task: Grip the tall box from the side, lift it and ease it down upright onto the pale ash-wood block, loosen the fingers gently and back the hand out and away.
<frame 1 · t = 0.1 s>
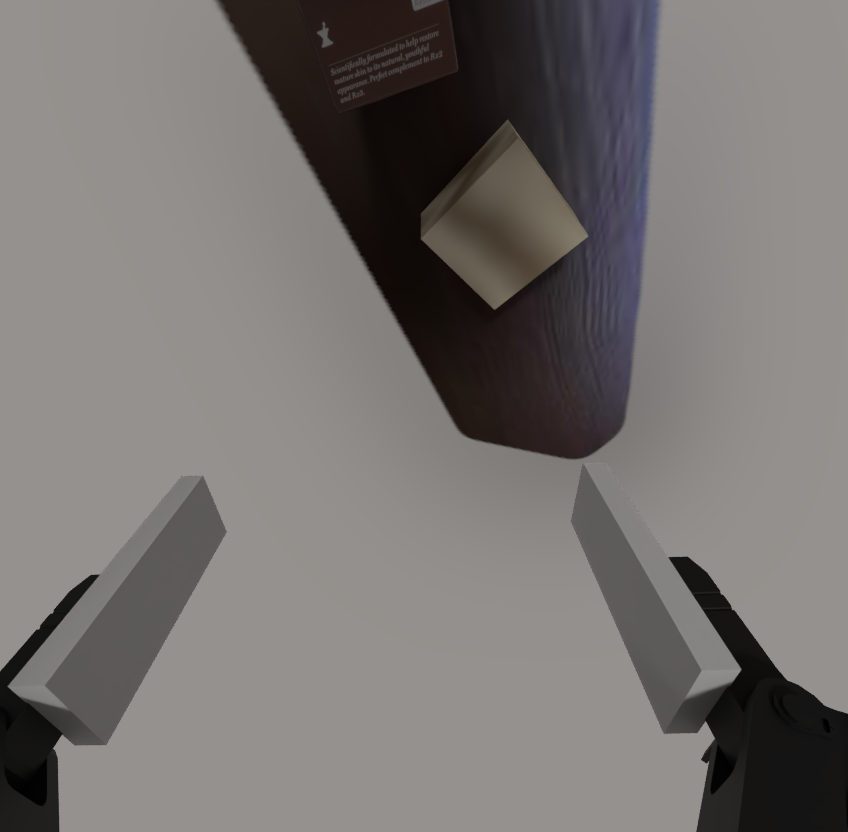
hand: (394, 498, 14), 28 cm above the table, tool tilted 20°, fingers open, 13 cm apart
box: (392, 9, 24), on the table
ash block: (496, 211, 33), on the table
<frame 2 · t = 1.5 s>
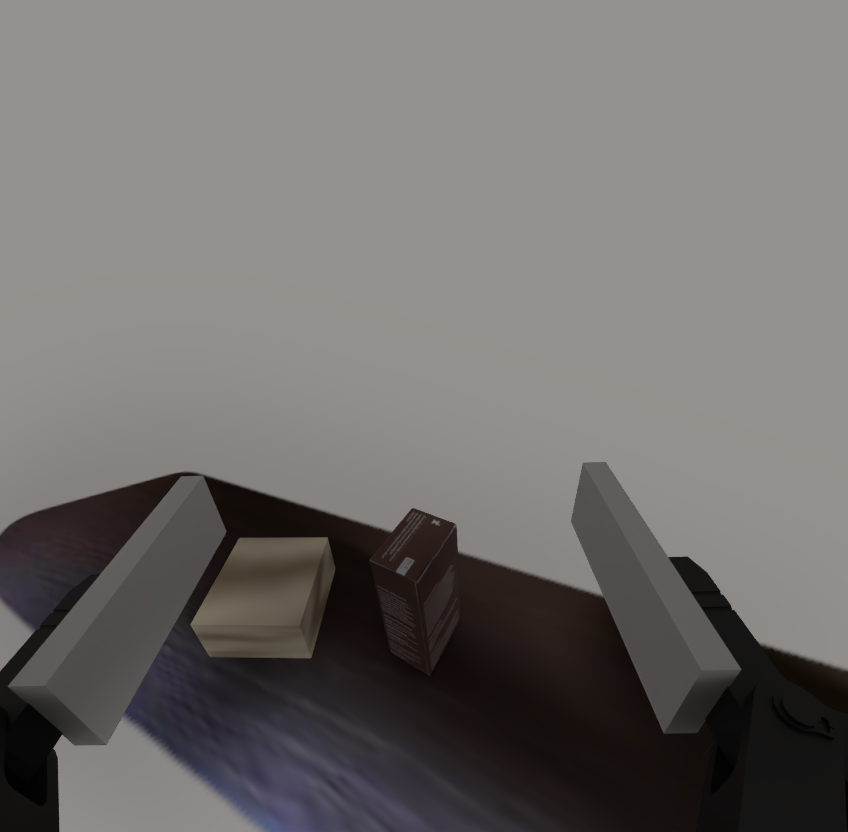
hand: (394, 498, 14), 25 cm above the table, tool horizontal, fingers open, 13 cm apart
box: (424, 636, 35), on the table
ash block: (279, 610, 38), on the table
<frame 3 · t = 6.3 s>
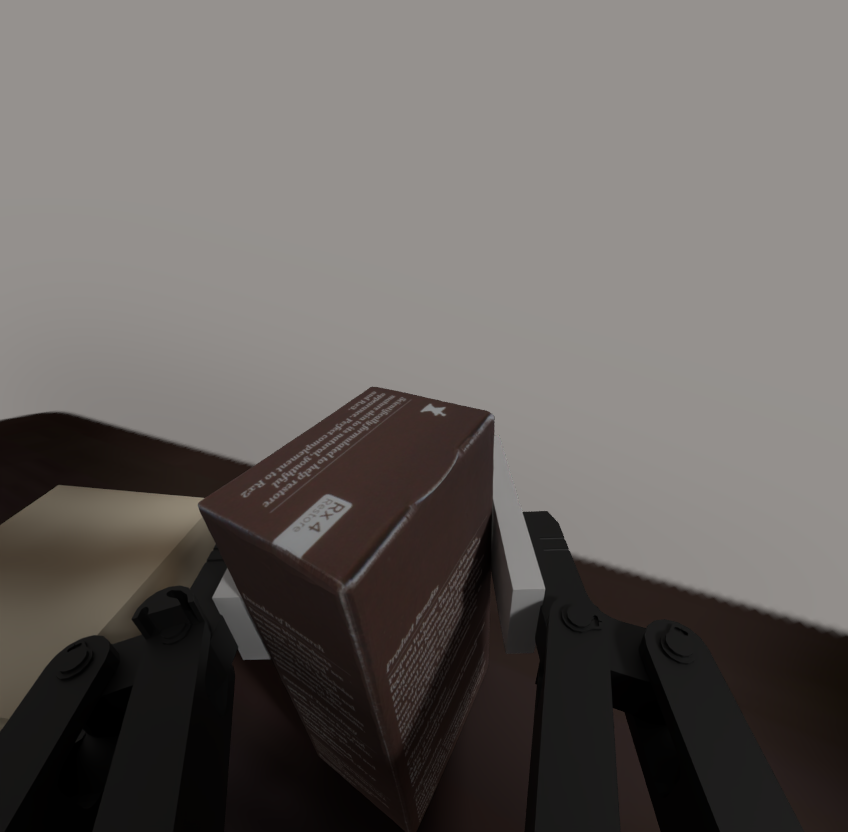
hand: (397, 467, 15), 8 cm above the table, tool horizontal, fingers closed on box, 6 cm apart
box: (405, 709, 15), on the table, touching gripper
ash block: (103, 641, 18), on the table
when the fingers open (13 cm above the table, at t = 12.5 s): box drops 1 cm, point 5 cm above the table.
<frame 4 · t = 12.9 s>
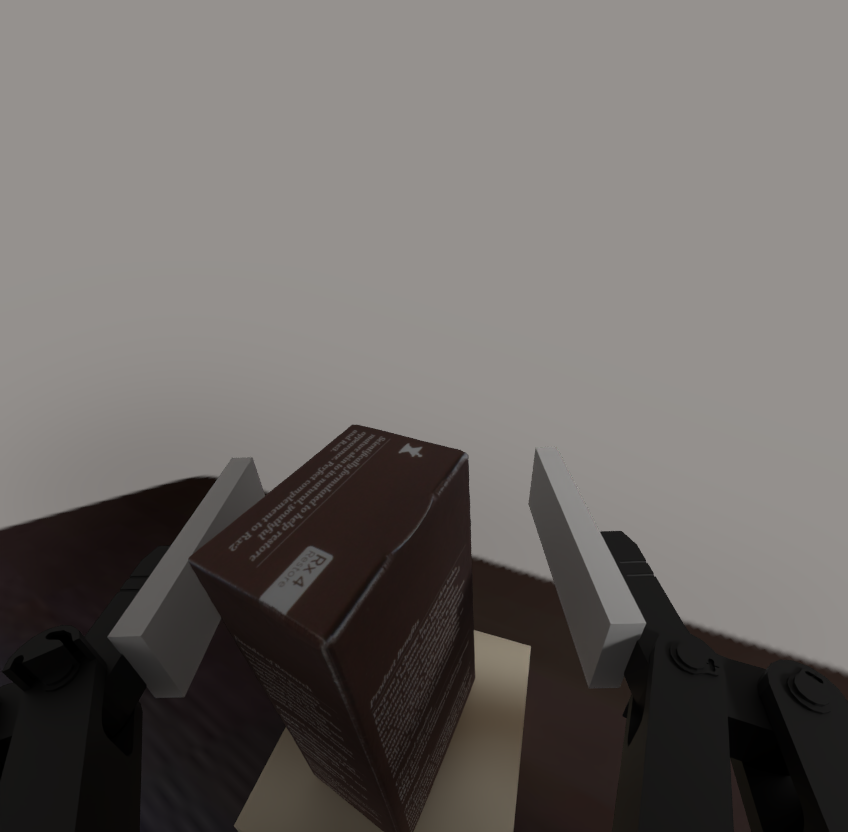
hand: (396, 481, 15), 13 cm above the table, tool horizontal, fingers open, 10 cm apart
box: (396, 724, 16), point 5 cm above the table
ash block: (411, 772, 18), on the table
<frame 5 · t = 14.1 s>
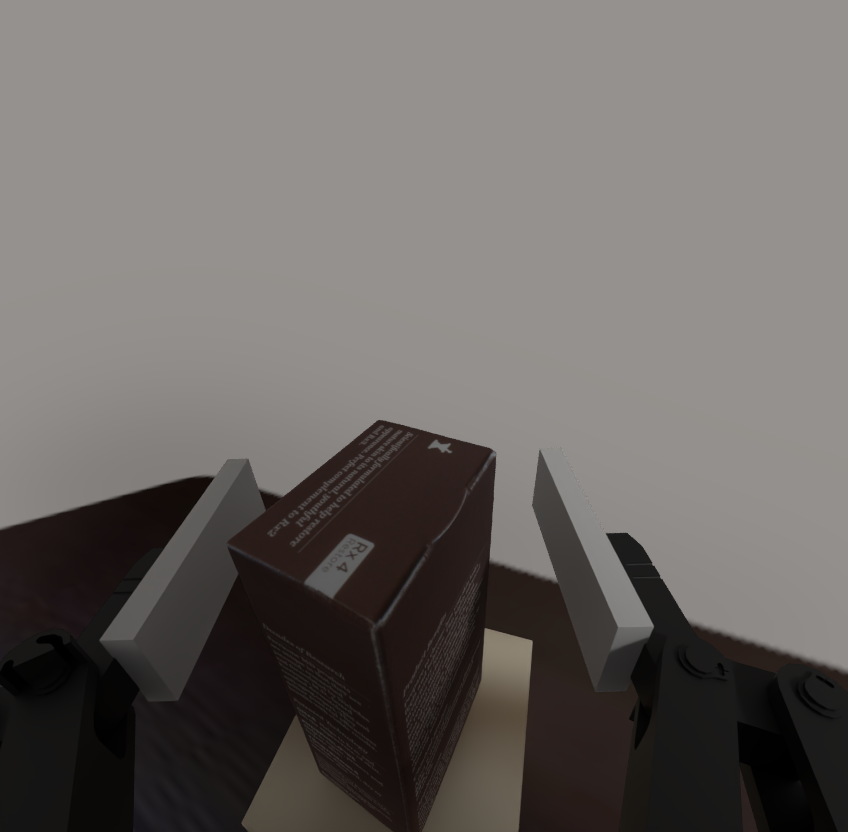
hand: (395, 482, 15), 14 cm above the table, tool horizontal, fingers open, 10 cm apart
box: (402, 724, 16), point 5 cm above the table, touching ash block
ash block: (415, 768, 18), on the table, touching box
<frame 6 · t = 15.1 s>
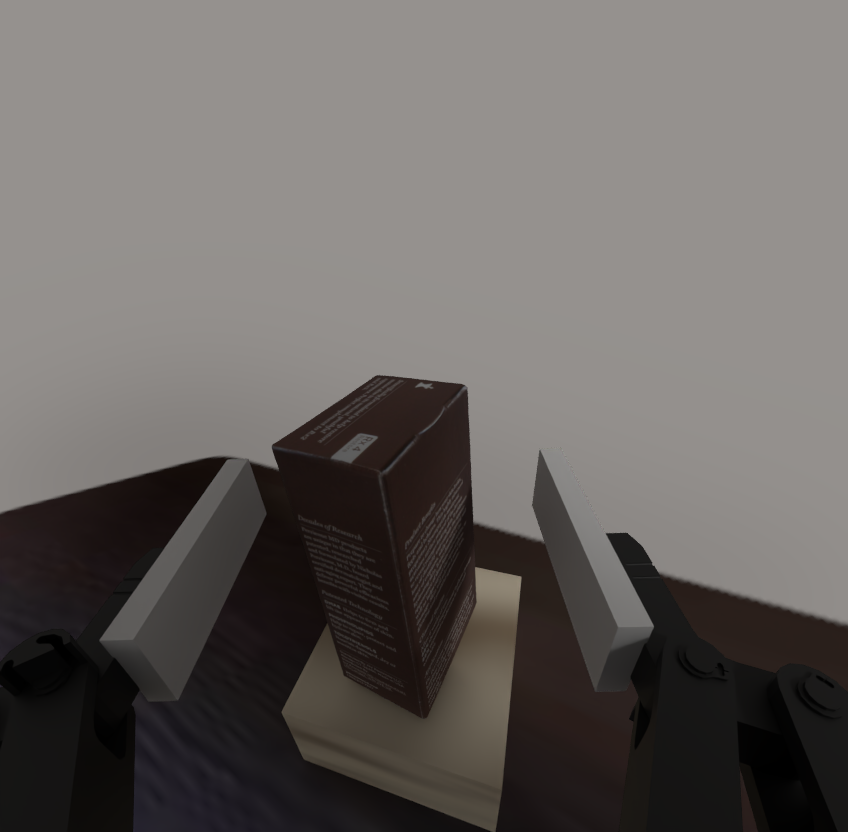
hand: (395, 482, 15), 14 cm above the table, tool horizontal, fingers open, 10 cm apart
box: (411, 640, 19), point 5 cm above the table, touching ash block
ash block: (422, 688, 21), on the table, touching box
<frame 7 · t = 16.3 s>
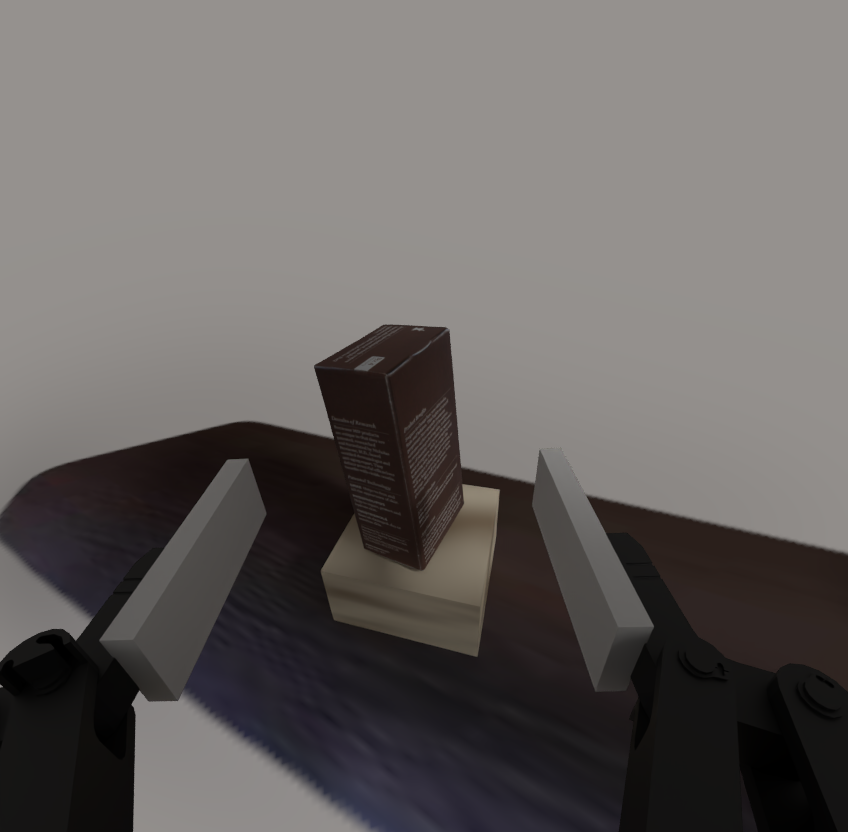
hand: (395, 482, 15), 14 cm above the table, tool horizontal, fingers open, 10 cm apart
box: (414, 529, 25), point 5 cm above the table, touching ash block
ash block: (422, 577, 27), on the table, touching box
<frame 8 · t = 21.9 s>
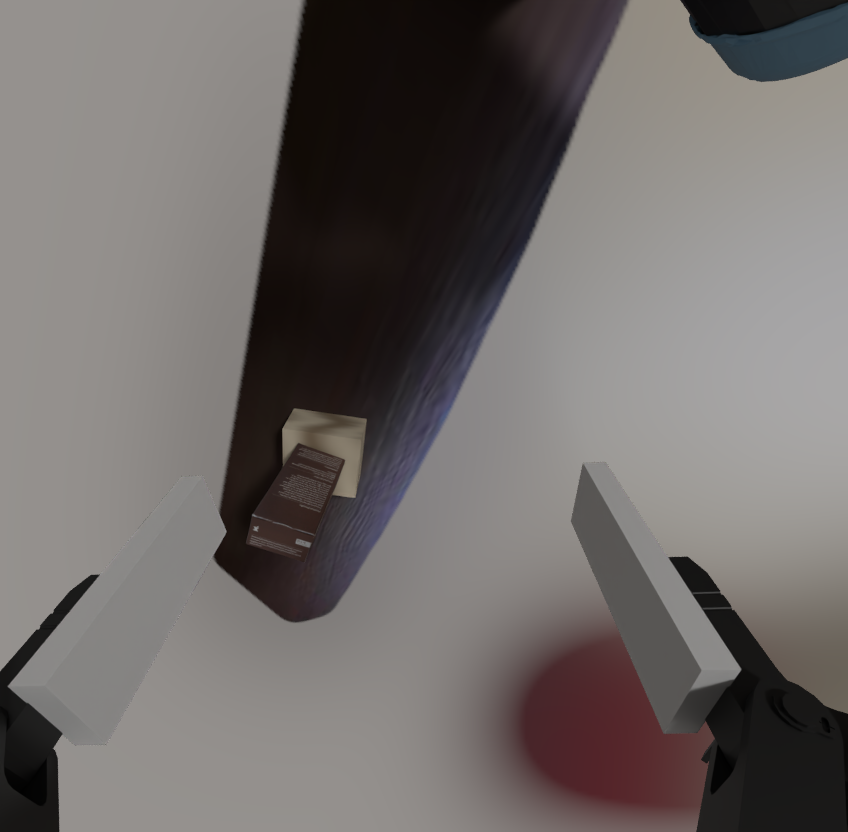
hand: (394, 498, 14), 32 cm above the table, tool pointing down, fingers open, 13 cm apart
box: (319, 463, 47), point 5 cm above the table
ash block: (329, 441, 51), on the table
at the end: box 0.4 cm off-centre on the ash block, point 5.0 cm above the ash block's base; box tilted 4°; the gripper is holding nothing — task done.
